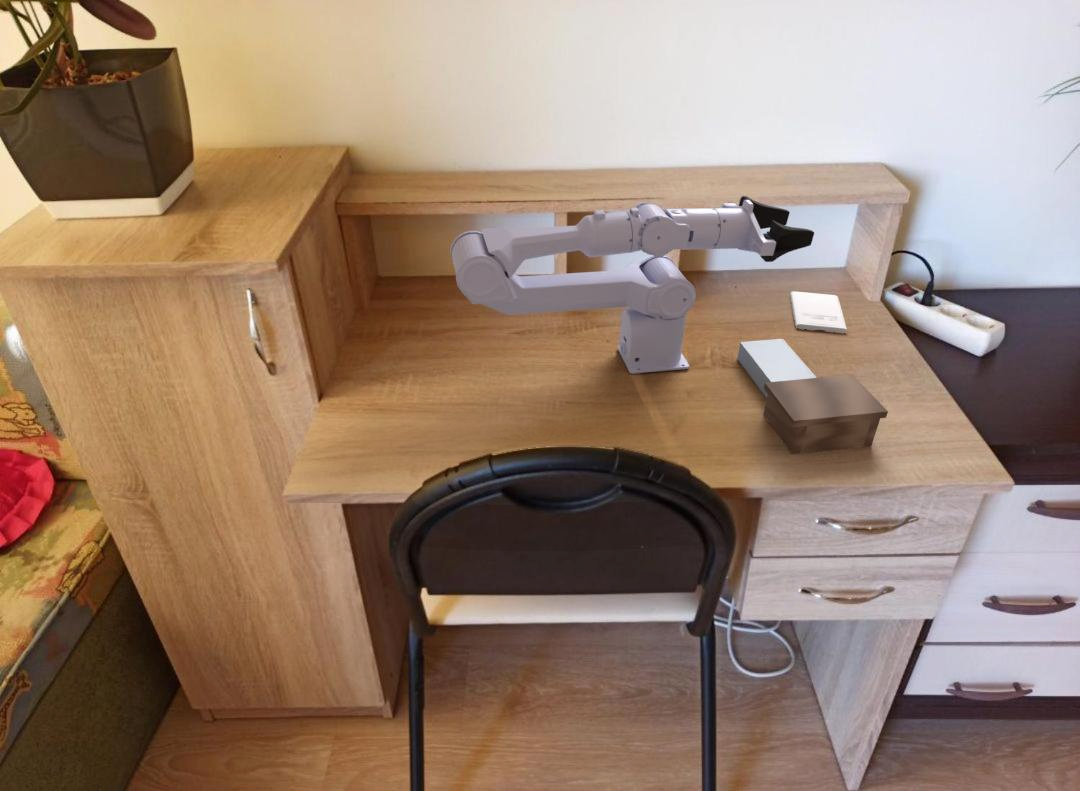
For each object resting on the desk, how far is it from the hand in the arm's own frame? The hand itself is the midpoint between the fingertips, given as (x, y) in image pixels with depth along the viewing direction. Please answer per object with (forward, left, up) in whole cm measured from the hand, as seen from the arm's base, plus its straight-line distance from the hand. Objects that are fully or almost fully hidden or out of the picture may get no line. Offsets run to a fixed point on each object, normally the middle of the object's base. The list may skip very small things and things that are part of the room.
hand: (799, 227), depth 111 cm
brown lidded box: (-4, -21, -20) cm, 30 cm away
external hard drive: (+12, +10, -21) cm, 26 cm away
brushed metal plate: (-4, -9, -20) cm, 23 cm away
